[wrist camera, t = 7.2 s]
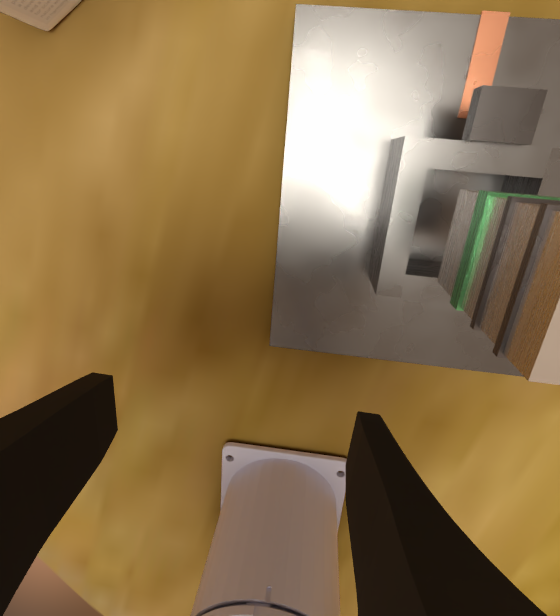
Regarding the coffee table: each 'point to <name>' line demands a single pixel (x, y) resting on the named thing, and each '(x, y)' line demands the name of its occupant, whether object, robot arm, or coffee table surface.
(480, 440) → the coffee table surface
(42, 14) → the syrup box
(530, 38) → the metal plate with socket
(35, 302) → the coffee table surface
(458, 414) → the coffee table surface
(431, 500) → the robot arm
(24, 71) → the coffee table surface
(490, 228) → the column
